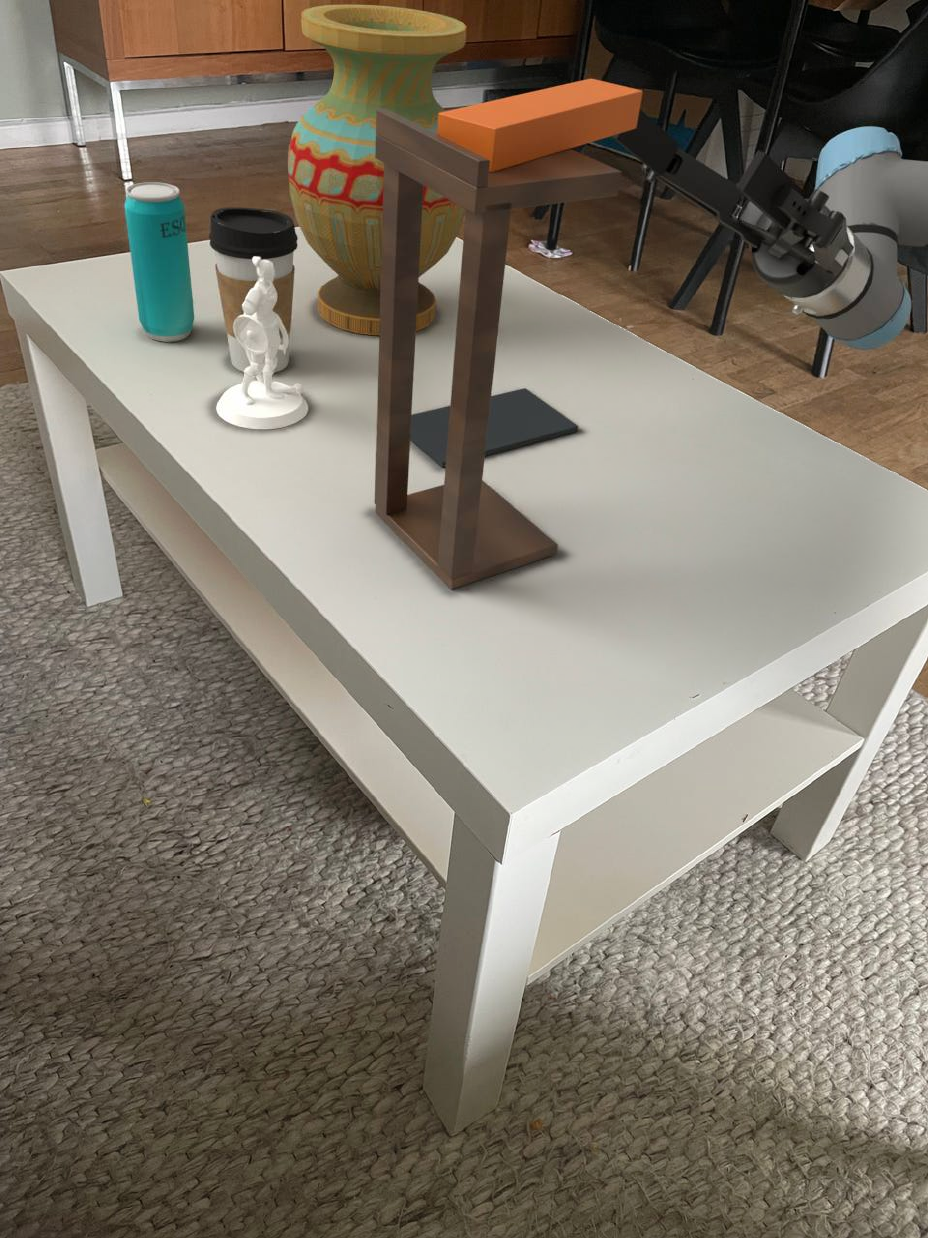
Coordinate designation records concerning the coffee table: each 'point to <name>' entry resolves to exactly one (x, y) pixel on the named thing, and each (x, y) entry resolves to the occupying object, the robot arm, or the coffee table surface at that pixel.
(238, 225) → the coffee cup
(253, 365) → the figurine
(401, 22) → the vase
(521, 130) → the orange block
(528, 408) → the rubber pad
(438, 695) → the coffee table surface
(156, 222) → the beverage can
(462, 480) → the walnut rack
